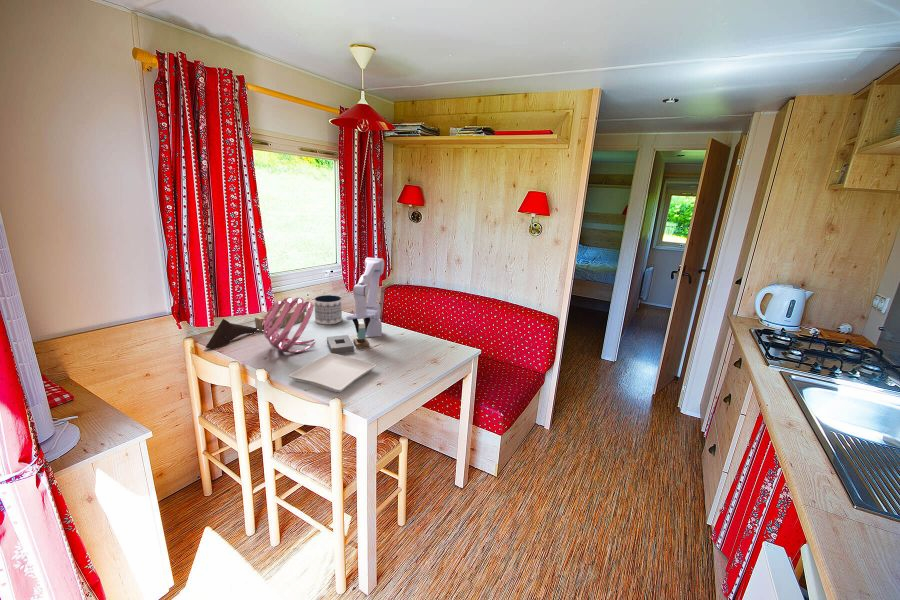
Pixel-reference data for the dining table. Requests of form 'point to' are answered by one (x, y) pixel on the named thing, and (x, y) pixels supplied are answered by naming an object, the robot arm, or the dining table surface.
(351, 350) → the port block
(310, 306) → the spiral basket
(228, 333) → the holster
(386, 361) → the dining table surface
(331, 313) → the planter
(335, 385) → the square plate
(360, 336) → the plug
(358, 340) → the plug holster
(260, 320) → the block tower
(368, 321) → the robot arm
